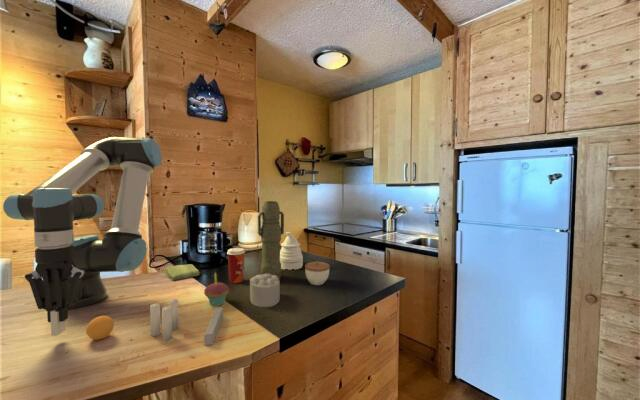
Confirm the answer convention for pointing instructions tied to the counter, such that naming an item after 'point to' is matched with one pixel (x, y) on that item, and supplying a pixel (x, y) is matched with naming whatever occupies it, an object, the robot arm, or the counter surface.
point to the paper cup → (236, 264)
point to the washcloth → (181, 272)
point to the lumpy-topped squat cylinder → (264, 290)
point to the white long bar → (213, 326)
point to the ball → (100, 327)
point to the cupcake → (216, 292)
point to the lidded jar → (317, 272)
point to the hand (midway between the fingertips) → (58, 332)
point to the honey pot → (291, 253)
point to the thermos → (271, 237)
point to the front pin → (155, 319)
